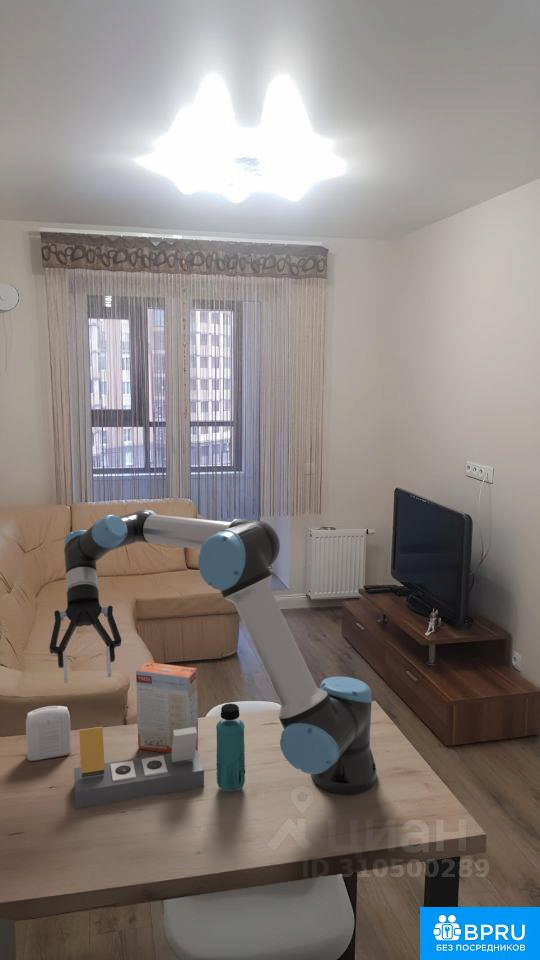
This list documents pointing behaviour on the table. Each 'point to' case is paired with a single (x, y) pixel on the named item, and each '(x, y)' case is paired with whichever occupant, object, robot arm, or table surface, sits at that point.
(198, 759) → the power strip
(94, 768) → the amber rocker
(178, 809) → the table surface
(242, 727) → the beverage bottle
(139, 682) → the cracker box
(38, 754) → the photo printer
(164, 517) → the robot arm
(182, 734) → the block
